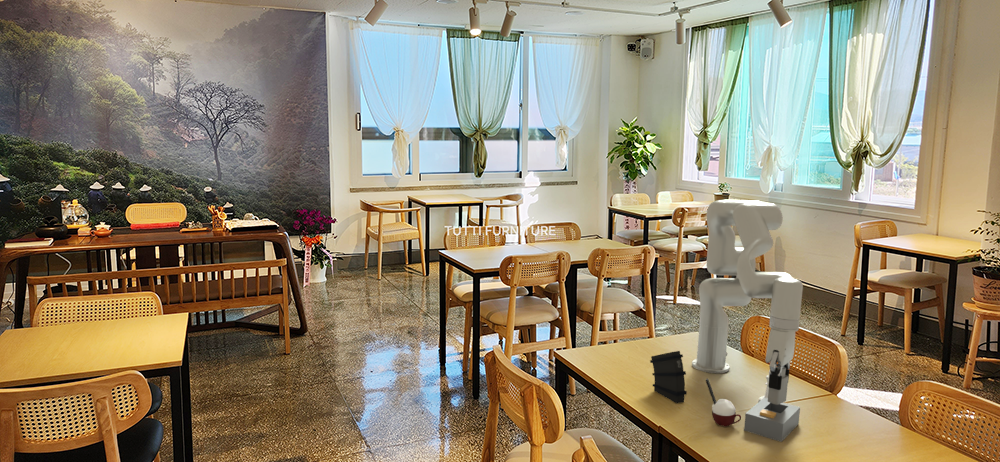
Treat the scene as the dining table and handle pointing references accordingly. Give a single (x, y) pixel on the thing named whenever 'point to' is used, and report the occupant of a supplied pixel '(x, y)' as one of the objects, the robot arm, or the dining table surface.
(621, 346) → the dining table surface
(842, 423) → the dining table surface
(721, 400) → the cocoa
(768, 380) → the chess piece
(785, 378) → the power adapter
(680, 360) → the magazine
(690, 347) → the dining table surface
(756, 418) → the socket block
